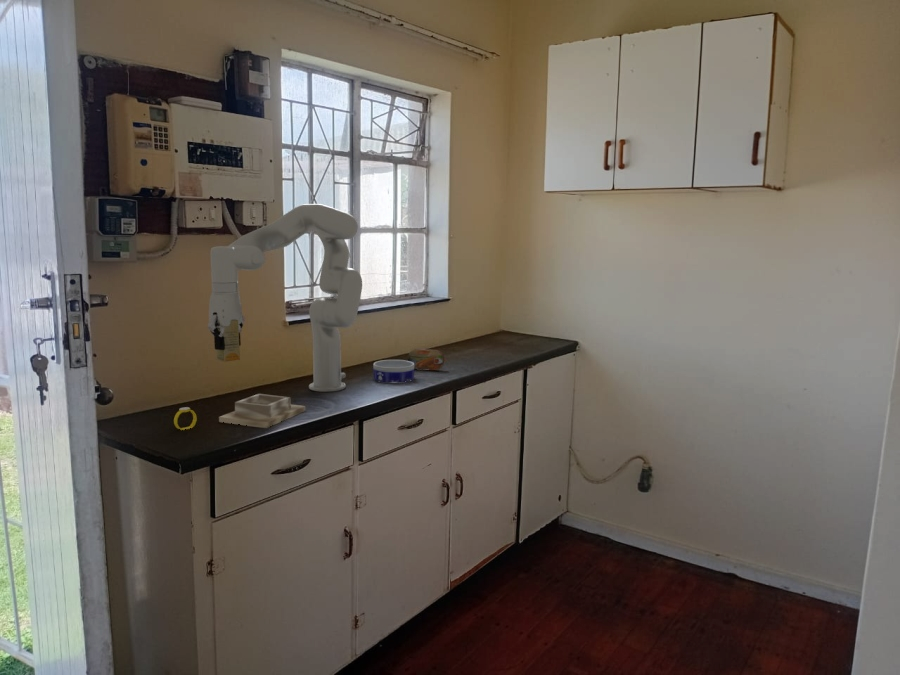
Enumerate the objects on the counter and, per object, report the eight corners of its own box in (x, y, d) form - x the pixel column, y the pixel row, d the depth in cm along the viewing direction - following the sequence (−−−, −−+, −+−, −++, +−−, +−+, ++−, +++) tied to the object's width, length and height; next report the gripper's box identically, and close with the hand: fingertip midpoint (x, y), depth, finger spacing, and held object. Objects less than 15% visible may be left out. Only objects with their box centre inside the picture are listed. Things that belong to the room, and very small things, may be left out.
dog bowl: (422, 378, 257) (422, 362, 256) (397, 385, 244) (397, 369, 243) (391, 373, 265) (391, 358, 264) (364, 380, 253) (364, 364, 252)
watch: (178, 433, 185) (175, 412, 184) (173, 431, 187) (171, 410, 185) (199, 427, 189) (196, 406, 188) (194, 425, 191) (191, 404, 190)
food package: (406, 369, 272) (407, 348, 270) (409, 368, 275) (409, 347, 273) (443, 372, 268) (443, 351, 267) (445, 370, 271) (445, 349, 270)
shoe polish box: (232, 357, 209) (230, 318, 207) (239, 359, 205) (238, 320, 203) (216, 359, 206) (215, 319, 204) (224, 361, 202) (222, 321, 200)
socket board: (260, 405, 214) (260, 389, 213) (305, 410, 208) (305, 394, 207) (219, 422, 195) (218, 405, 194) (266, 428, 190) (266, 410, 189)
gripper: (233, 285, 211) (235, 342, 214) (194, 290, 195) (197, 351, 198) (253, 286, 209) (256, 344, 212) (216, 291, 193) (219, 353, 196)
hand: (227, 347), depth 205 cm, fingers closed on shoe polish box, 6 cm apart
